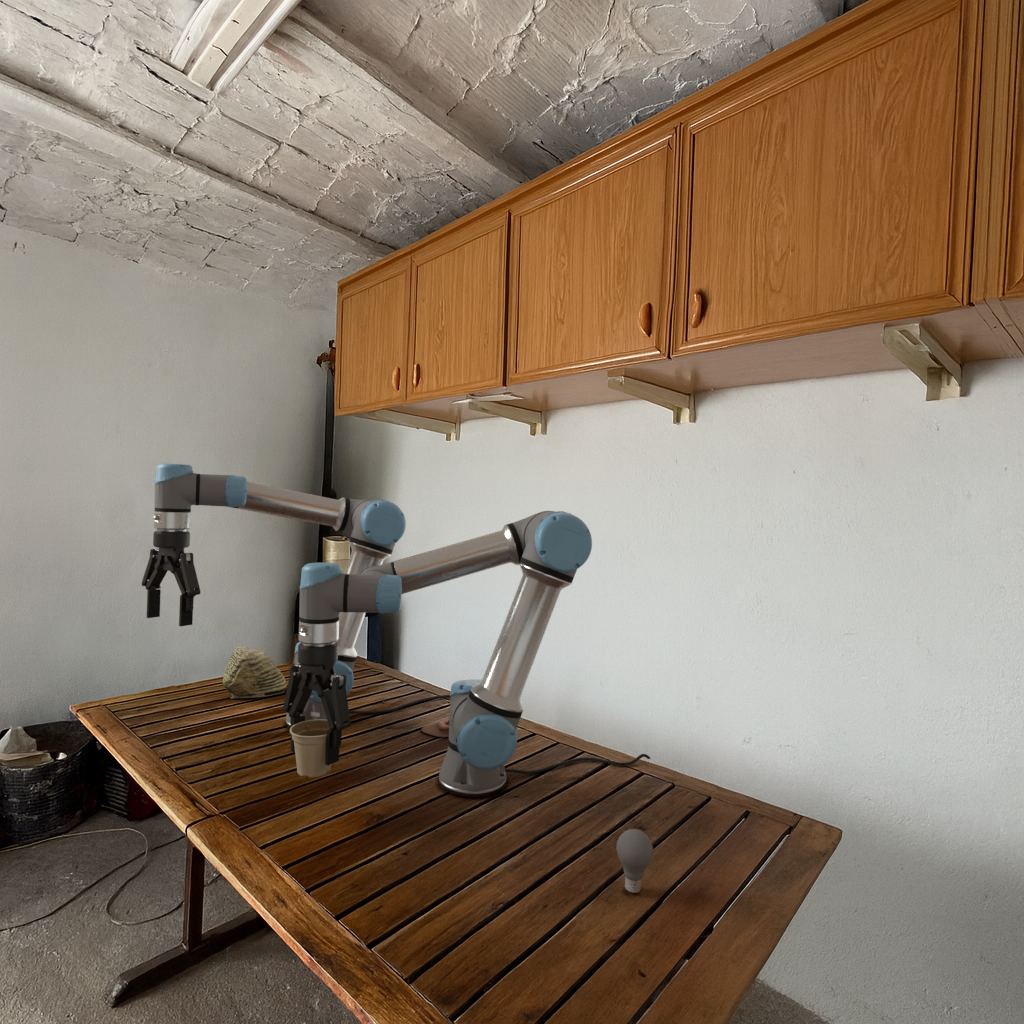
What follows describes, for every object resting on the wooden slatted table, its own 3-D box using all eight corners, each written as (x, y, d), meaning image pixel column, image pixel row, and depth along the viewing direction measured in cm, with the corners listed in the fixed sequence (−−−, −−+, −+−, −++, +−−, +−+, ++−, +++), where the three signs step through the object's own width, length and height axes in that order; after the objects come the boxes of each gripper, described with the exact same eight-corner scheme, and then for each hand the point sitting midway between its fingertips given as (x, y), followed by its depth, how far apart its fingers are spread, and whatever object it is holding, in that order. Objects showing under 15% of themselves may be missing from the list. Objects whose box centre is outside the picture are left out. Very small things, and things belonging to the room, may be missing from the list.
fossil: (218, 695, 195) (220, 647, 195) (278, 685, 208) (279, 640, 207) (228, 703, 189) (230, 653, 188) (289, 692, 201) (290, 645, 201)
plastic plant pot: (277, 772, 123) (279, 728, 123) (316, 757, 131) (318, 715, 130) (310, 786, 118) (311, 740, 118) (348, 769, 126) (350, 726, 125)
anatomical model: (417, 719, 171) (431, 706, 182) (417, 734, 171) (430, 720, 182) (465, 725, 168) (476, 711, 179) (464, 740, 168) (475, 725, 179)
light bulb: (610, 879, 108) (613, 822, 108) (644, 879, 109) (647, 822, 109) (619, 902, 102) (622, 840, 102) (655, 901, 103) (658, 840, 103)
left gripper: (127, 527, 151) (124, 616, 151) (187, 534, 137) (183, 631, 138) (158, 526, 157) (156, 612, 157) (219, 533, 144) (215, 626, 144)
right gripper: (266, 636, 127) (262, 748, 127) (343, 655, 115) (338, 777, 115) (297, 631, 133) (293, 737, 133) (373, 647, 121) (368, 764, 121)
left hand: (169, 621), depth 147 cm, fingers open, 13 cm apart
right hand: (314, 755), depth 124 cm, fingers closed on plastic plant pot, 9 cm apart
